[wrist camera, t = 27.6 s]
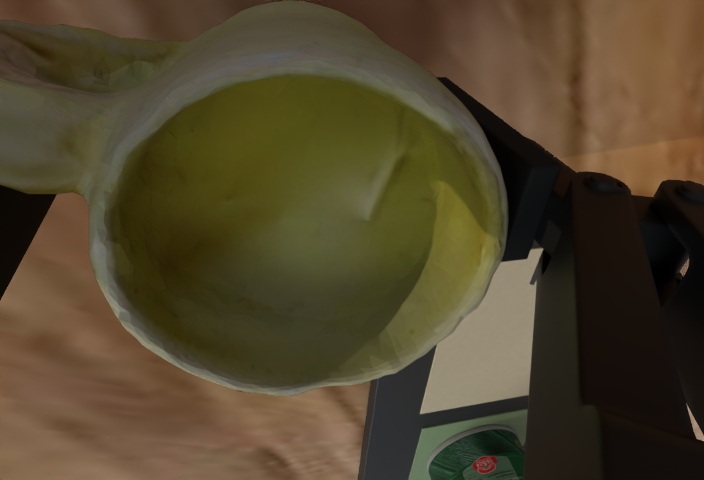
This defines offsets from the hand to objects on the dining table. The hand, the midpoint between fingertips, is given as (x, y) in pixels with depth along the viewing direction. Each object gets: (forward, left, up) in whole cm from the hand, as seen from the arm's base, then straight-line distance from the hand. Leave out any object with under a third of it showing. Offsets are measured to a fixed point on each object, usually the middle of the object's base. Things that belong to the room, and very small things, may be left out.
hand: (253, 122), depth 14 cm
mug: (0, 0, -1) cm, 1 cm away
